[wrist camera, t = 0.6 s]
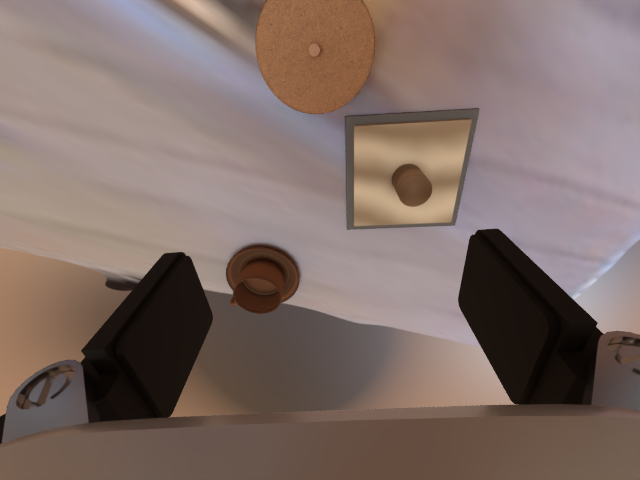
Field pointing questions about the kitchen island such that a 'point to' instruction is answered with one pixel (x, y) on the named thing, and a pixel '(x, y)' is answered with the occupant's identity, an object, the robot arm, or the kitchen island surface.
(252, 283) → the cup and saucer
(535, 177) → the kitchen island surface
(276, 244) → the kitchen island surface
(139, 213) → the kitchen island surface
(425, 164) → the birch lid
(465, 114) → the rubber mat
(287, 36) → the lidded jar
